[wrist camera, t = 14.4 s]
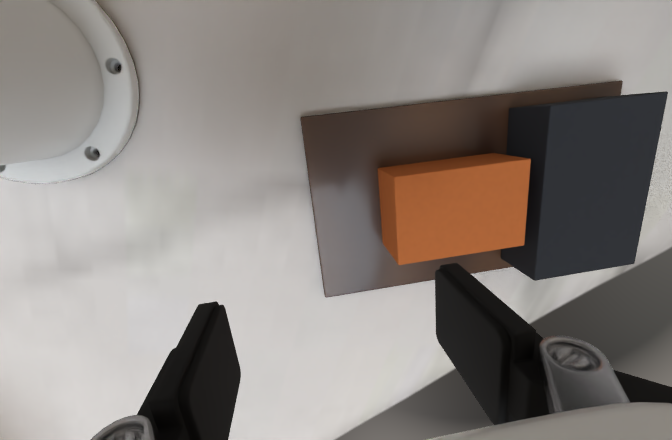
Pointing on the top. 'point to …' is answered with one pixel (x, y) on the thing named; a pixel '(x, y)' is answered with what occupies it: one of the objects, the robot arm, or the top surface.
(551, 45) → the top surface
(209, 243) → the top surface
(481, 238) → the loose pad
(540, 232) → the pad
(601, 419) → the robot arm
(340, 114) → the board
